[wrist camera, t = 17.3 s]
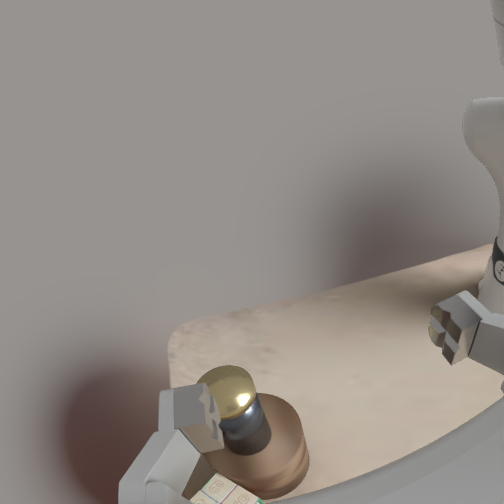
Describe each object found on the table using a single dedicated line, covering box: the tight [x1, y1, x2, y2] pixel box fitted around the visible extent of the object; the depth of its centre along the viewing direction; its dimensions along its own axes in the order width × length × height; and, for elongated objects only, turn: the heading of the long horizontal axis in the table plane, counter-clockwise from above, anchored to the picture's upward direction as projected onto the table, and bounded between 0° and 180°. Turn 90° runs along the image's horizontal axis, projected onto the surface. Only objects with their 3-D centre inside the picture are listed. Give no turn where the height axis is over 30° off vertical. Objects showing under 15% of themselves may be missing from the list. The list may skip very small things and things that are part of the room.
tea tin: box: [197, 365, 272, 456], centre depth 30 cm, size 6×6×10 cm
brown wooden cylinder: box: [203, 393, 309, 500], centre depth 35 cm, size 12×12×10 cm
